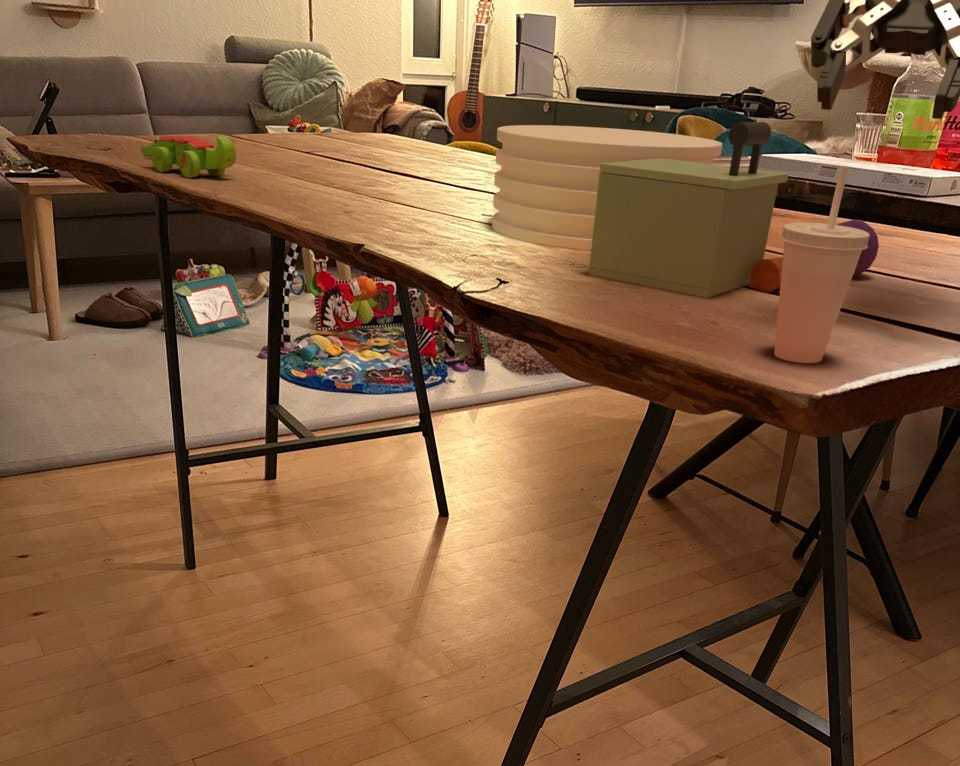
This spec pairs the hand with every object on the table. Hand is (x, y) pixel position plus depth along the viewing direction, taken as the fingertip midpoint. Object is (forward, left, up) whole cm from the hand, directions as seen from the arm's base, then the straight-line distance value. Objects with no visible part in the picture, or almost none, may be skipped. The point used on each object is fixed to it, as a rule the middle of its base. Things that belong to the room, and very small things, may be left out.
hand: (880, 106), depth 76 cm
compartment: (+21, -11, -18) cm, 30 cm away
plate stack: (+42, -30, -18) cm, 55 cm away
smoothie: (-1, +10, -18) cm, 20 cm away
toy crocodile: (+114, -22, -18) cm, 117 cm away
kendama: (+10, -22, -18) cm, 30 cm away
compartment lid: (+20, -11, -8) cm, 25 cm away
